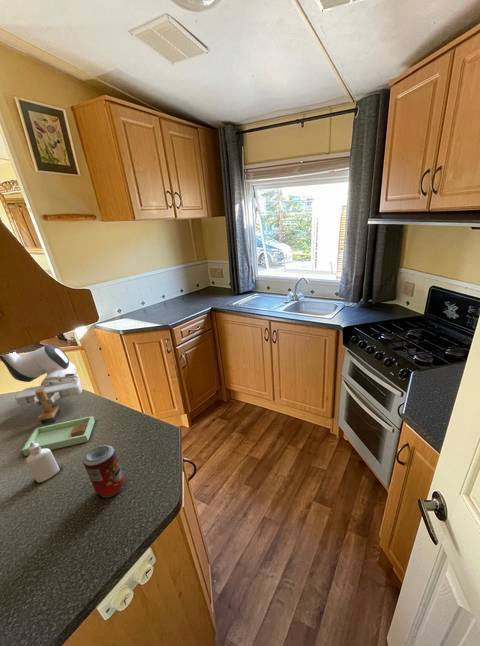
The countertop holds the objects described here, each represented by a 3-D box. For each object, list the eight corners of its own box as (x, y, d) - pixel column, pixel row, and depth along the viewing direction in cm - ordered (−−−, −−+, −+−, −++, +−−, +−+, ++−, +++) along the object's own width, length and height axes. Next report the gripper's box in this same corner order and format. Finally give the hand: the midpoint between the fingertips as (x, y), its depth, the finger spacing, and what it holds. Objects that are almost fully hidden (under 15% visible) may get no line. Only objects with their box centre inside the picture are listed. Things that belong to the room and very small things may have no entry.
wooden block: (71, 437, 96) (70, 433, 96) (75, 429, 100) (73, 426, 99) (85, 434, 97) (84, 430, 97) (87, 427, 101) (86, 423, 100)
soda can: (120, 497, 74) (106, 461, 69) (92, 501, 73) (75, 464, 68) (130, 476, 80) (117, 441, 75) (103, 479, 80) (89, 444, 75)
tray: (24, 456, 90) (21, 450, 89) (38, 433, 100) (35, 428, 99) (88, 441, 95) (85, 435, 94) (95, 421, 105) (92, 415, 104)
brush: (41, 425, 102) (27, 397, 97) (48, 413, 108) (35, 386, 103) (55, 422, 103) (43, 394, 98) (61, 411, 109) (50, 384, 104)
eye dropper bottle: (37, 474, 83) (20, 441, 78) (60, 466, 85) (45, 433, 80) (34, 484, 79) (16, 451, 74) (59, 476, 81) (42, 443, 76)
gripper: (21, 383, 109) (4, 402, 97) (82, 372, 115) (73, 389, 103) (27, 397, 112) (12, 417, 100) (87, 386, 118) (79, 403, 106)
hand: (43, 402), depth 102 cm, fingers closed on brush, 2 cm apart
